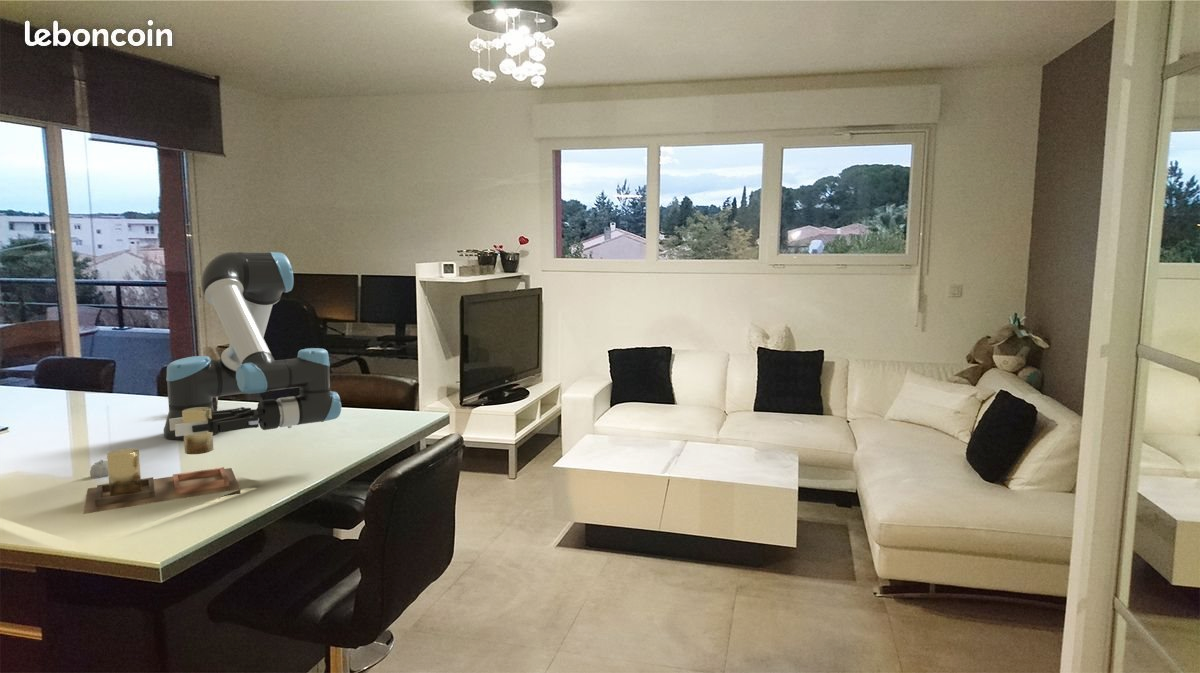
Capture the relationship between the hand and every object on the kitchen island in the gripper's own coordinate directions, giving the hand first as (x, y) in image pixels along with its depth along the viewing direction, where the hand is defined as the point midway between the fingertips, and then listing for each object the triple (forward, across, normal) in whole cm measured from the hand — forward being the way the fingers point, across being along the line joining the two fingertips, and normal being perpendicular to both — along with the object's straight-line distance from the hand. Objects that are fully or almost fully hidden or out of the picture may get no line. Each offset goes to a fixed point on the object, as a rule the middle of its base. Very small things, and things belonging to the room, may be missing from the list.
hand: (172, 427), depth 165 cm
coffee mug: (-24, +84, -16) cm, 89 cm away
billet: (+10, +2, -15) cm, 18 cm away
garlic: (+12, +22, -16) cm, 30 cm away
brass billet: (-5, 0, -6) cm, 8 cm away
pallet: (+2, +1, -16) cm, 16 cm away
